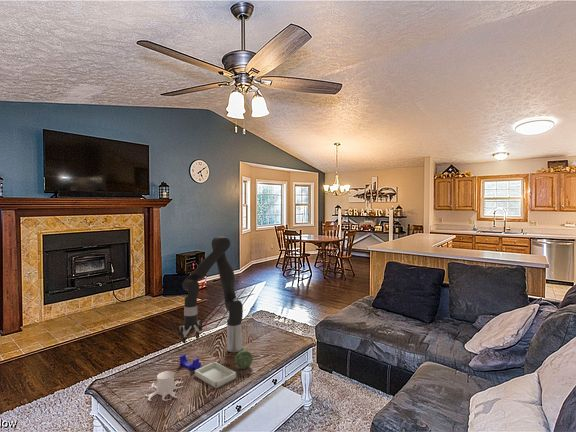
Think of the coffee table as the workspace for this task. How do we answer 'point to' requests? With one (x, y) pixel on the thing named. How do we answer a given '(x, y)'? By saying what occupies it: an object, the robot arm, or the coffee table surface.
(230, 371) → the parts tray
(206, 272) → the robot arm
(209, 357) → the coffee table surface
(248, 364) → the decorative artifact
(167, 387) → the tree stump
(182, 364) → the blue curved bracket
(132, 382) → the coffee table surface
